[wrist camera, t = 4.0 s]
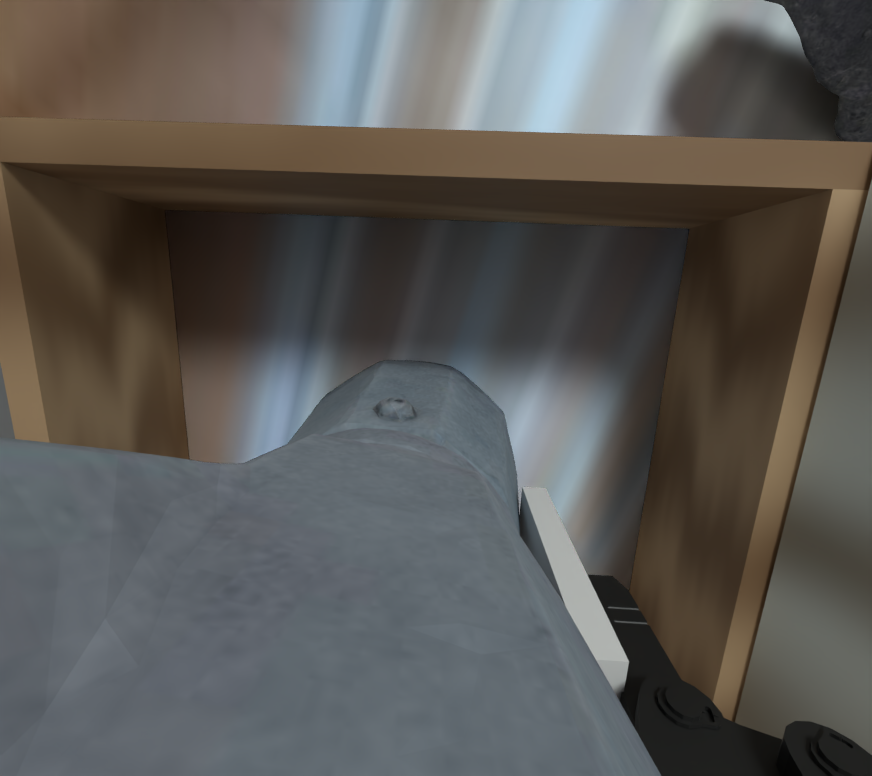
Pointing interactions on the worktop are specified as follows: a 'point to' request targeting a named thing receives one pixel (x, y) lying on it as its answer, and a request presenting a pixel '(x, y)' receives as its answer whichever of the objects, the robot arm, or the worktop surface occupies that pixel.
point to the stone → (839, 57)
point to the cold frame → (526, 203)
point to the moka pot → (296, 605)
